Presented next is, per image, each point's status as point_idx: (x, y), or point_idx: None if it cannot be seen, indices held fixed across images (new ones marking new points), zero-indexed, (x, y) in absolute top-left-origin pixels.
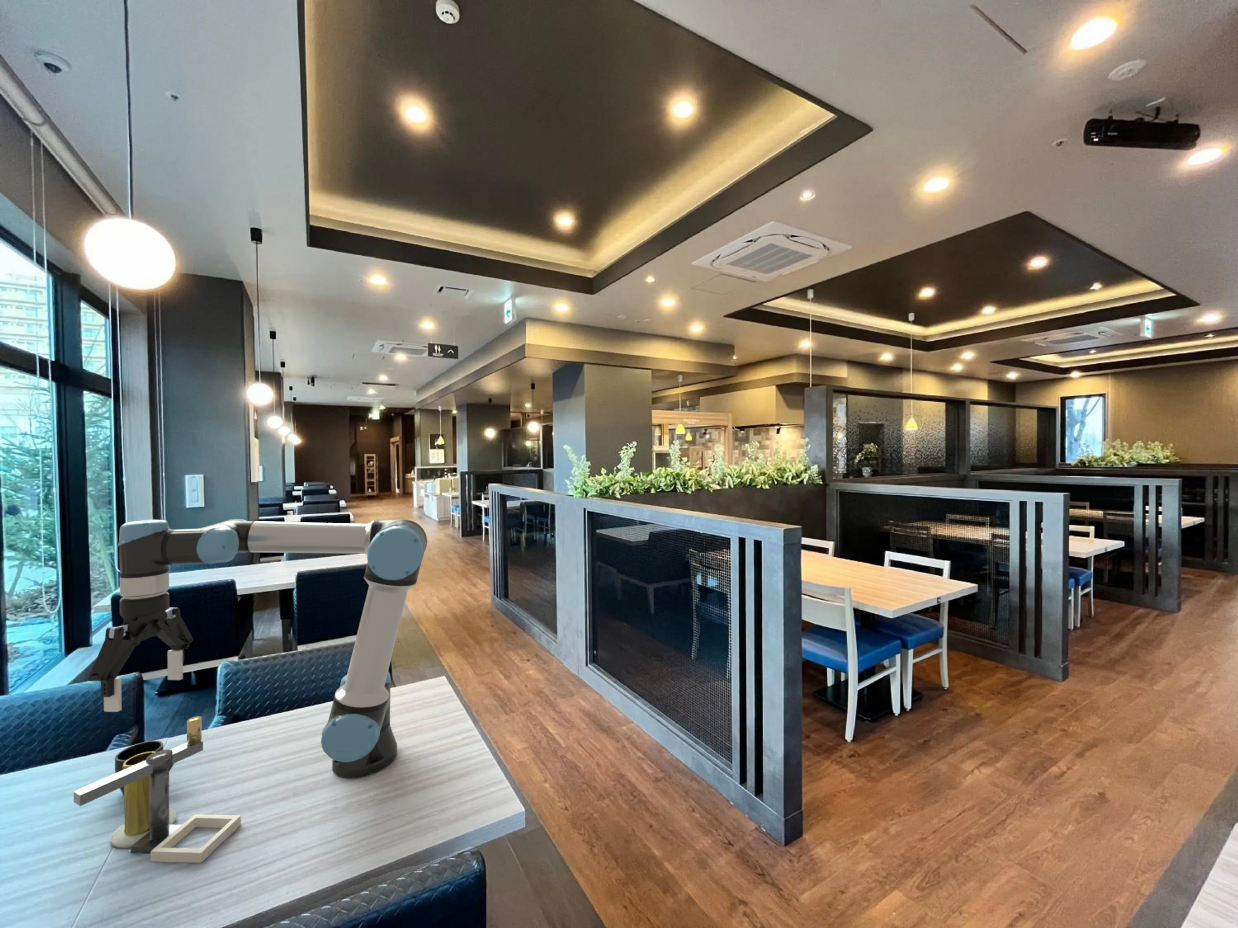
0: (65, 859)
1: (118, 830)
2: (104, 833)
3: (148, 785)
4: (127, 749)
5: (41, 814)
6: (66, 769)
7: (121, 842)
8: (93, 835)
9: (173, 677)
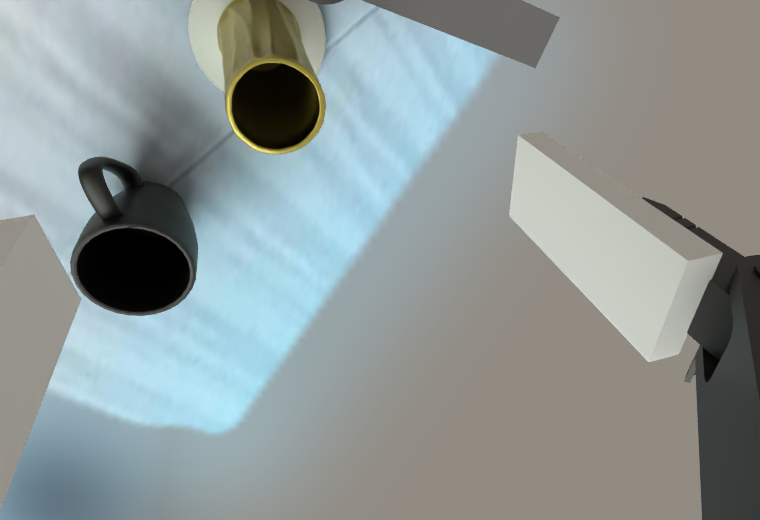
0: (368, 121)
1: None
2: None
3: (278, 32)
4: (143, 309)
5: (276, 306)
6: (164, 410)
7: (319, 36)
8: None
9: (54, 274)
